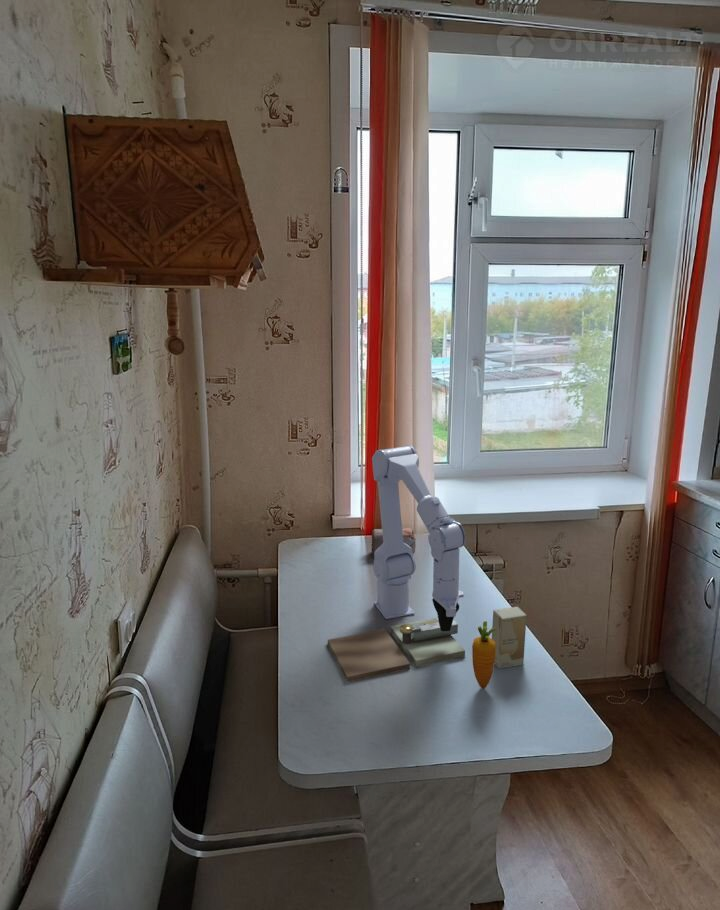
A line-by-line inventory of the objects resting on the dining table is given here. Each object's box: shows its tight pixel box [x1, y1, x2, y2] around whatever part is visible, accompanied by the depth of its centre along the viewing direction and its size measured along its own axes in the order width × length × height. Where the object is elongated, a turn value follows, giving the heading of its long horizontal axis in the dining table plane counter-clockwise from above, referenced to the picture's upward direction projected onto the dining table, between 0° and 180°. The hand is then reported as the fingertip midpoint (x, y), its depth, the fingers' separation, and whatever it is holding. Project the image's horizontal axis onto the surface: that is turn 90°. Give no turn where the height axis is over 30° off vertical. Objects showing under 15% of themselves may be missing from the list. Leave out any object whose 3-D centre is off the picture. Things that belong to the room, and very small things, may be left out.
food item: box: [370, 527, 417, 558], centre depth 199 cm, size 14×8×10 cm, turn 96°
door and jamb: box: [327, 617, 466, 682], centre depth 145 cm, size 16×28×4 cm, turn 108°
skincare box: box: [491, 606, 527, 669], centre depth 139 cm, size 6×4×12 cm
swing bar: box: [400, 619, 459, 642], centre depth 147 cm, size 14×3×3 cm, turn 107°
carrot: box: [471, 620, 497, 690], centre depth 129 cm, size 5×5×15 cm
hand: (445, 629), depth 144 cm, fingers closed
